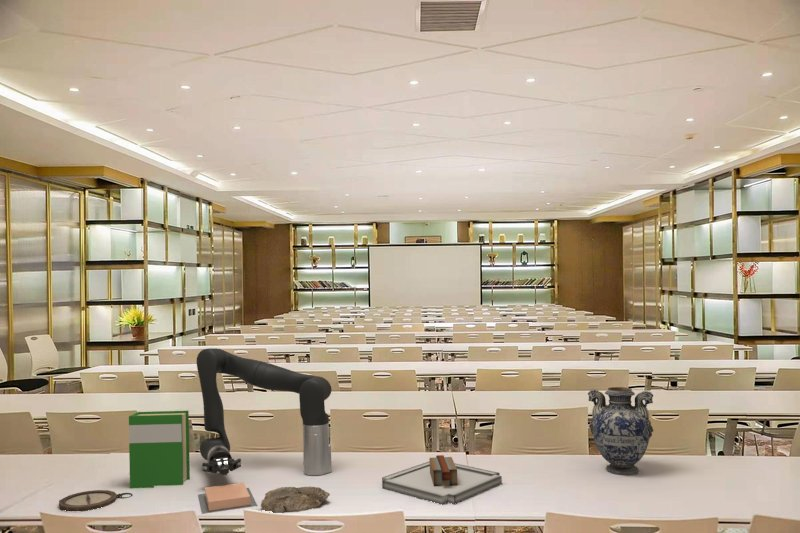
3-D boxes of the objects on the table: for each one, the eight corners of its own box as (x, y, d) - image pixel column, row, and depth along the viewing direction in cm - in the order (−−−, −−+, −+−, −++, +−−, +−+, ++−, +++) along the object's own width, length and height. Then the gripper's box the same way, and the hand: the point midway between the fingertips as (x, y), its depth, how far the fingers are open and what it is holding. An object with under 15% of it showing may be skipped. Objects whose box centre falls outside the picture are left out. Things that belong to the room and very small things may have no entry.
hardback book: (189, 480, 225) (188, 410, 226) (182, 486, 218) (181, 414, 218) (138, 481, 225) (137, 411, 226) (129, 488, 218) (128, 416, 219)
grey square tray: (376, 488, 212) (376, 465, 212) (435, 467, 234) (435, 446, 234) (449, 508, 192) (448, 483, 192) (506, 483, 214) (505, 460, 214)
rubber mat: (248, 489, 213) (248, 487, 213) (257, 507, 195) (257, 505, 195) (197, 496, 207) (197, 494, 207) (201, 515, 190) (201, 513, 190)
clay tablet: (331, 496, 205) (267, 498, 204) (330, 480, 205) (266, 482, 204) (328, 513, 191) (259, 515, 190) (328, 496, 191) (259, 498, 190)
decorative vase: (586, 475, 218) (584, 391, 219) (592, 461, 235) (590, 383, 236) (655, 481, 210) (652, 394, 211) (656, 466, 227) (653, 385, 228)
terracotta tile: (243, 482, 209) (250, 496, 195) (243, 491, 209) (250, 505, 195) (204, 487, 205) (208, 502, 191) (205, 496, 205) (208, 511, 191)
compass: (46, 514, 196) (46, 507, 196) (73, 496, 212) (73, 490, 212) (113, 512, 196) (113, 505, 196) (135, 494, 212) (135, 488, 212)
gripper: (198, 449, 220) (202, 462, 204) (238, 445, 225) (245, 457, 208) (199, 472, 220) (203, 486, 203) (239, 467, 224) (246, 481, 208)
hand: (224, 471), depth 206 cm, fingers closed
